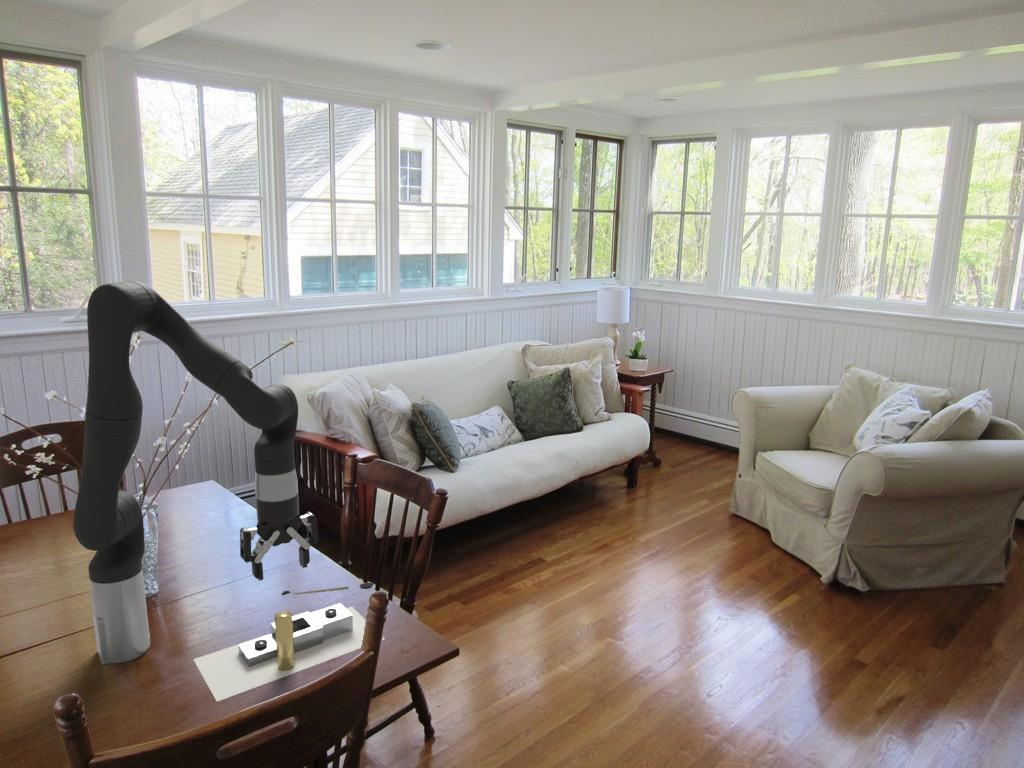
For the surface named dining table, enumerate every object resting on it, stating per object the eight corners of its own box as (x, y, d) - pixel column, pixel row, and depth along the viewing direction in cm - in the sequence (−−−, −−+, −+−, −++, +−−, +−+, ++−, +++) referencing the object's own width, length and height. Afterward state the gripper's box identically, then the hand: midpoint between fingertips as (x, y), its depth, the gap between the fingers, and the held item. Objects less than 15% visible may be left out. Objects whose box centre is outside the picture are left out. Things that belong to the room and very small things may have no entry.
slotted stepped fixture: (250, 669, 141) (248, 649, 140) (237, 650, 147) (236, 632, 146) (354, 631, 154) (353, 613, 153) (339, 616, 160) (338, 599, 159)
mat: (217, 704, 131) (216, 701, 131) (193, 661, 144) (193, 659, 144) (385, 641, 152) (385, 638, 152) (351, 608, 164) (351, 606, 164)
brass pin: (281, 673, 140) (278, 621, 137) (275, 665, 142) (272, 614, 140) (297, 667, 142) (294, 616, 139) (291, 659, 144) (288, 609, 142)
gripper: (244, 507, 127) (251, 591, 131) (321, 489, 136) (325, 569, 140) (231, 494, 133) (237, 575, 137) (305, 478, 142) (309, 555, 145)
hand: (282, 572), depth 138 cm, fingers open, 8 cm apart
